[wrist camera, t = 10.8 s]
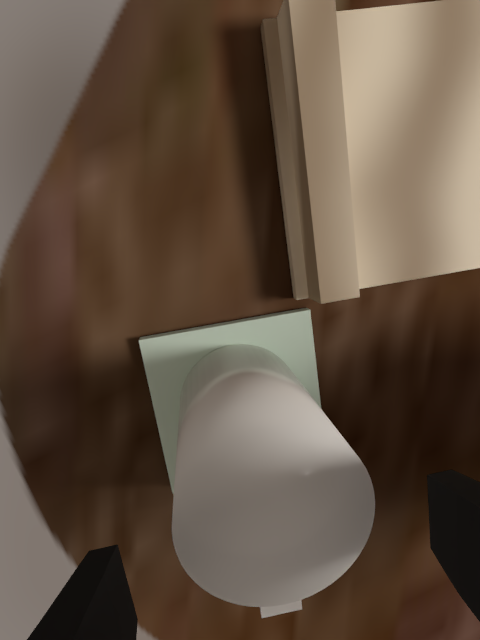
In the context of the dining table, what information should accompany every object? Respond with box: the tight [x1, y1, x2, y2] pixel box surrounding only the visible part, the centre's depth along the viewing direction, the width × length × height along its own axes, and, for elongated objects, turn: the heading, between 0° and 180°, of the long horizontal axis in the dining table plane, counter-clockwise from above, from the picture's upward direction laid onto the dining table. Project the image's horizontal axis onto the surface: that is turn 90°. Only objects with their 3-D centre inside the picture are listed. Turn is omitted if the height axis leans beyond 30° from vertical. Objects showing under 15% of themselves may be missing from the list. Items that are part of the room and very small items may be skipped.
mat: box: [139, 308, 321, 494], centre depth 16 cm, size 7×7×1 cm
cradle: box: [260, 0, 480, 304], centre depth 14 cm, size 12×10×2 cm
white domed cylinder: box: [172, 344, 375, 618], centre depth 13 cm, size 5×6×7 cm
